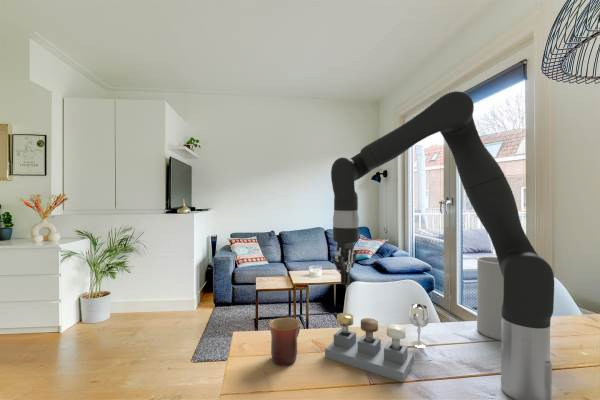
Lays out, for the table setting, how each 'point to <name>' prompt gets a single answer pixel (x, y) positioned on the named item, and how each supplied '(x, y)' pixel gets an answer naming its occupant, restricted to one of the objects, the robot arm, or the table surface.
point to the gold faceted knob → (345, 322)
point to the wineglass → (419, 321)
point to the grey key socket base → (371, 355)
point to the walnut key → (369, 328)
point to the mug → (284, 340)
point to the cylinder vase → (489, 297)
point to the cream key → (396, 334)
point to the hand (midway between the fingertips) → (345, 283)
